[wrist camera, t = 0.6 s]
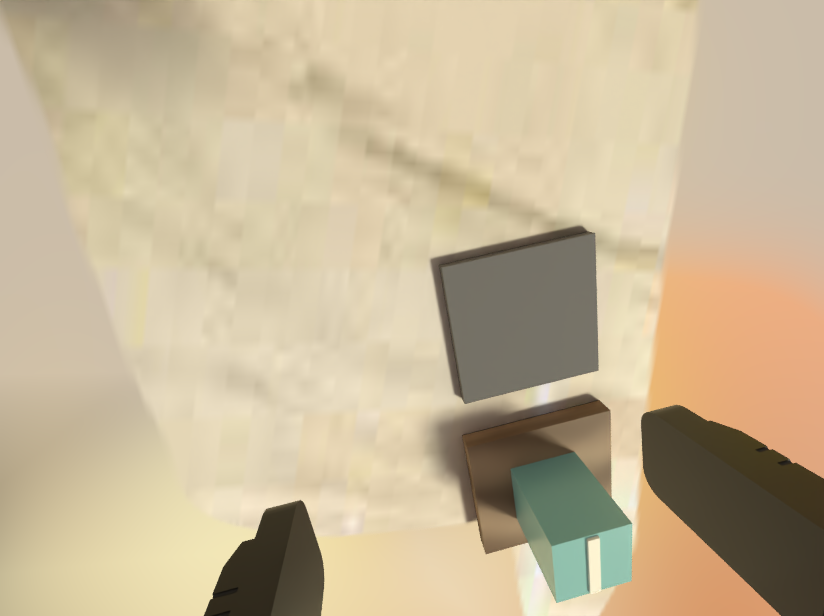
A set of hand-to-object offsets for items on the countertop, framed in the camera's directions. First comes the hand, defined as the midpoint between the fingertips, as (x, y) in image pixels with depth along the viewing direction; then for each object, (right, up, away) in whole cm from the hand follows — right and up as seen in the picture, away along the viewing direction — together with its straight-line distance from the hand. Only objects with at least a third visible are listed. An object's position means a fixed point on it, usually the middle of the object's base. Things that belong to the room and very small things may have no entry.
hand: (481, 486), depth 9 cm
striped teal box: (+10, -11, +24) cm, 28 cm away
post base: (+10, -11, +25) cm, 29 cm away
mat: (+7, +3, +20) cm, 21 cm away
